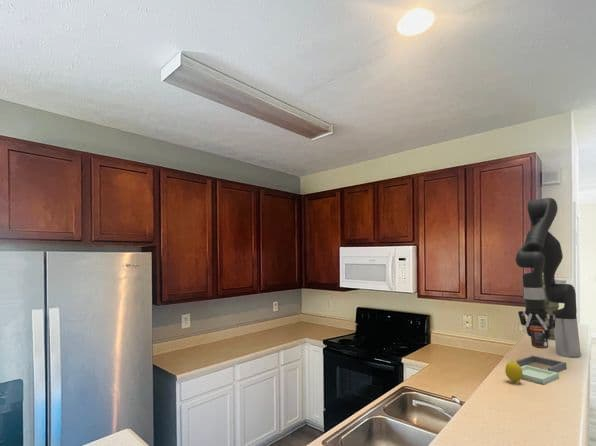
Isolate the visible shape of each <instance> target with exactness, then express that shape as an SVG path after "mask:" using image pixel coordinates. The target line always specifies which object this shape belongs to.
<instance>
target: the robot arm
mask: <svg viewBox="0 0 596 446" xmlns="http://www.w3.org/2000/svg"><path fill="white" fill-rule="evenodd" d="M526 208H527V212H528V217H529V220H530V223H531V225H532V227H531V229H530V230H529V231H528V233H527V234H526V238H525V241H524V243H523V245H522V246H521V248H520V249H519V251H517V254H516V255H515V263H516V265H517V266H518V267H519V268H523V269H524V268H525V269H526V268H527V269H531V268H533V270H532V272H529V273H524V274H523V275H522V284H523V285H522V286H523V301H524V307H525V310H520V311H518V313H517V314H518V317H519V318H518V319H519V321H520V325H522V326H525V327H526V335H528V337H531V335H530V325H531V324H532V320H535V321H539V322H540V323H541V325H543V327H544V329H545V330H544V332H545V339H549V338H550V337H551V334H550V329H553V328H554V335H555V340H554V342H555V343H554V345H555V352H556V355H559V356H561V357H568V358H581V356H582V353H581V343H580V335H579V326H578V316H577V314H578V312H577V309H578V308H577V294H576V293H577V292H576V290H575V287H574V286H573V284H570V283H556V281H555V275H556V272H557V270H558V268H559V266H560V264H561V263H562V260H563V258H564V257H563V256H564V255H563V251H562V246H561V243H560V241H559V240H558V239H557V238H556V237H555V236H554V235H553V234H552V233H551V232H550V231H549V230H550V228H551V226H552V224H553V222H554V221H555V218H556V217H557V213H558V203H557V201H556V200H555V198H553V197H546V198H545V197H544V198H540V199H538V198H537V199H534V200H533V199H532V200H528V203H527V207H526ZM542 275H543V276H544V284H545V292H546V296H547V299H548V300H549V301H550V302H555V303H559V304H564V305H563V307H562V308H560V309H559V308H558V310H554V311H553V312H552V314H548V313H547V312H546V303H545V294H544V290H543V283H542ZM526 316H527V319H526ZM546 317H548V319H549V324H548V322H547V320H546Z"/></svg>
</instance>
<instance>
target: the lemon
mask: <svg viewBox="0 0 596 446" xmlns="http://www.w3.org/2000/svg"><path fill="white" fill-rule="evenodd" d="M521 367H522V366H521ZM521 367H520V365H519V364H517V362H515V361H513V360H511V361H509V362H508V363H507V364H506V365H505V370H504V371H505V376H506V377H507V379H509V380H510V381H512V383H514V384H516V383H517V382H519V381H521V380H523V379H522V375H523V373H522V369H521Z"/></svg>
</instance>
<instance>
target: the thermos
mask: <svg viewBox="0 0 596 446" xmlns="http://www.w3.org/2000/svg"><path fill="white" fill-rule="evenodd" d="M542 283H543V290H544V294H545V303H546V312H547V313H548V314H552V312H553V311H554V310H559V308H560V303H555V302H550V301H549V300H548V299H547V296H546V292H545V284H544V276H543V274H542ZM546 320H547V322H548V324H549V319H548V317H546ZM550 334H551V337H550V338H549V339H548V340H549V341H555V335H554V328H553V329H550Z"/></svg>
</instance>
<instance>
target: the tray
mask: <svg viewBox="0 0 596 446" xmlns="http://www.w3.org/2000/svg"><path fill="white" fill-rule="evenodd" d="M521 369H522V373H523V375H522V379H521V380H524V381H529V382H532V383H535V384H538V385H542V386H544V385H547V384H550V383H551V382H554V381H556V380H559V379H560V372H552V371H548V369H543V368H539V367H536V366H530V365H528V364H527V365H524V366H521Z"/></svg>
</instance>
